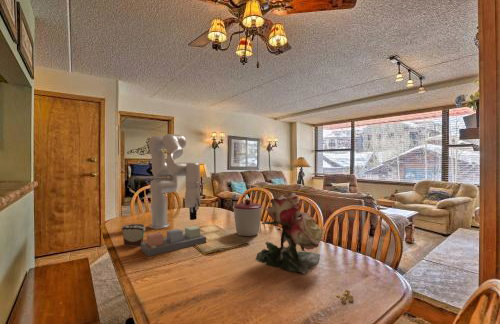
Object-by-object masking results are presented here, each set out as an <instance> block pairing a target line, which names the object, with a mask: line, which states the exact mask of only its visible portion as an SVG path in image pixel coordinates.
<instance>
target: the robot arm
mask: <svg viewBox="0 0 500 324" xmlns="http://www.w3.org/2000/svg"><path fill="white" fill-rule="evenodd" d="M186 145H187V140H186V138H185V136H184V135H181V134H172V133H167V134H164V135H154V136H151V137H150V138H149V141H148V149H149V152H150V155H151V171H152V175H153V176H154V177H156V178H155V179H152V180H151V182H150V183H149V187H150V188H149V189H150V194H151V223H150V224H149V227H148V228H150V229H153V230H157V229H158V230H159V229H166V228H168V227H170V223H169V222H168V199H167V197H166V196H165V193H167V194H168V193H174V192H176V191H177V189H178V177H185V193H184V195H185V196H184V205H185V207H187V208H188V209H189V210H188V211H189V220H191V221H195V220H197V212H198V210H199V208H200V207H201V192H200V188H201V165H200V163H198V162H176V160H177V159H179V158H181V156H182V155H183V154H184V150H183V149H184V148H185V147H186ZM162 150H166V152H167V153H168V155H167V157H166V155H165V153H164V152H163V151H162ZM157 177H158V178H157ZM161 177H163V178H161ZM164 177H167V178H164Z"/></svg>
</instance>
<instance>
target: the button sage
mask: <svg viewBox="0 0 500 324" xmlns="http://www.w3.org/2000/svg"><path fill="white" fill-rule="evenodd" d="M184 234H185V237H187V238H188V239H192V238H197V237H200V234H201V227H199V226H196V225H192V226H185V227H184Z"/></svg>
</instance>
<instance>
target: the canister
mask: <svg viewBox="0 0 500 324" xmlns="http://www.w3.org/2000/svg"><path fill="white" fill-rule="evenodd" d="M232 209H233V214H234V222H235V223H234V224H235V230H236V231H235V232H236V234H238V235H239V236H242V237H254V236H256V235H258V234H259V232H260V227H261V218H262V209H264V207H263V206H262V205H261V204H259V203H255V202H252V201H251V199H250V198H246V199H245V200H244V202H240V203H236V204H235V205H233V206H232Z"/></svg>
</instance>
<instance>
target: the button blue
mask: <svg viewBox="0 0 500 324" xmlns="http://www.w3.org/2000/svg"><path fill="white" fill-rule="evenodd" d="M183 234H184V232H183V230H180V229H179V228H177V229H176V228H175V229H171V230H166V238H167V241H168V242H170V243H174V242H178V241H183Z"/></svg>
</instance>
